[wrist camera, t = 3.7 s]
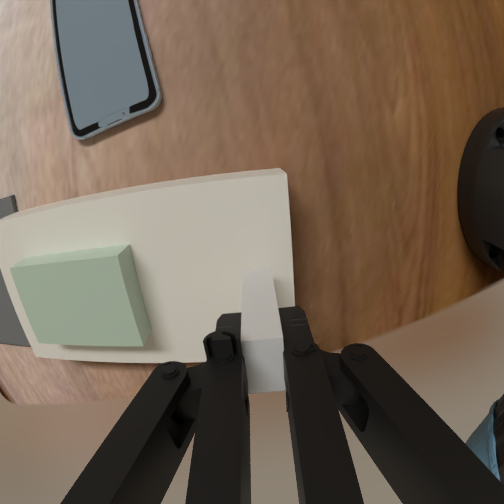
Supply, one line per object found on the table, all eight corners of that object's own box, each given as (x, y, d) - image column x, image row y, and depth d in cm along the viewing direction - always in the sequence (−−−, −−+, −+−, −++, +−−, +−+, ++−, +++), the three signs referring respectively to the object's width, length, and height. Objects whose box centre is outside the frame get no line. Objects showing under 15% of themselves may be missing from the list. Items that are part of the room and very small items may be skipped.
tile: (129, 243, 18) (117, 255, 16) (151, 328, 20) (143, 346, 18) (25, 257, 18) (9, 267, 16) (50, 329, 20) (38, 342, 18)
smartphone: (127, -47, 13) (163, 104, 18) (130, -42, 14) (167, 106, 19) (49, -6, 14) (72, 144, 19) (54, -2, 15) (79, 144, 19)
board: (279, 168, 20) (286, 174, 16) (289, 323, 24) (296, 354, 20) (17, 211, 21) (-12, 224, 17) (55, 332, 25) (36, 356, 21)
